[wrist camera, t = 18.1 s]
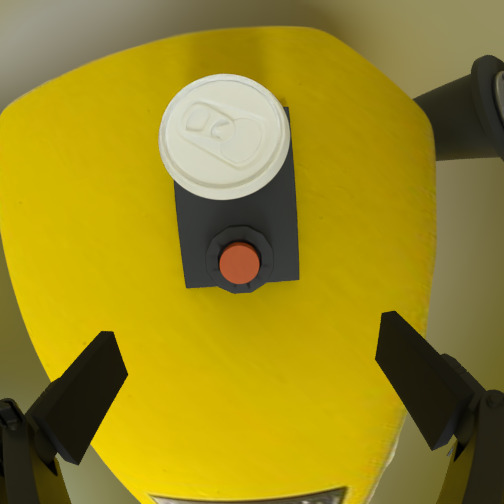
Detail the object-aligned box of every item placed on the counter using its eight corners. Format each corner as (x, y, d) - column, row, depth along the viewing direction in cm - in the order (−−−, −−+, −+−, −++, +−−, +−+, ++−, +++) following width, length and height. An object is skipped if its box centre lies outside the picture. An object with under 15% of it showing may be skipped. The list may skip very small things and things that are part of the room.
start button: (219, 243, 26) (217, 247, 24) (257, 240, 26) (258, 243, 25) (222, 279, 27) (221, 285, 25) (259, 276, 27) (260, 282, 25)
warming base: (172, 120, 26) (165, 112, 23) (286, 109, 26) (291, 101, 23) (188, 287, 30) (182, 297, 27) (297, 278, 30) (302, 288, 27)
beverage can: (250, 210, 27) (255, 225, 15) (176, 176, 26) (129, 167, 14) (286, 138, 26) (316, 101, 14) (212, 105, 25) (192, 50, 13)
